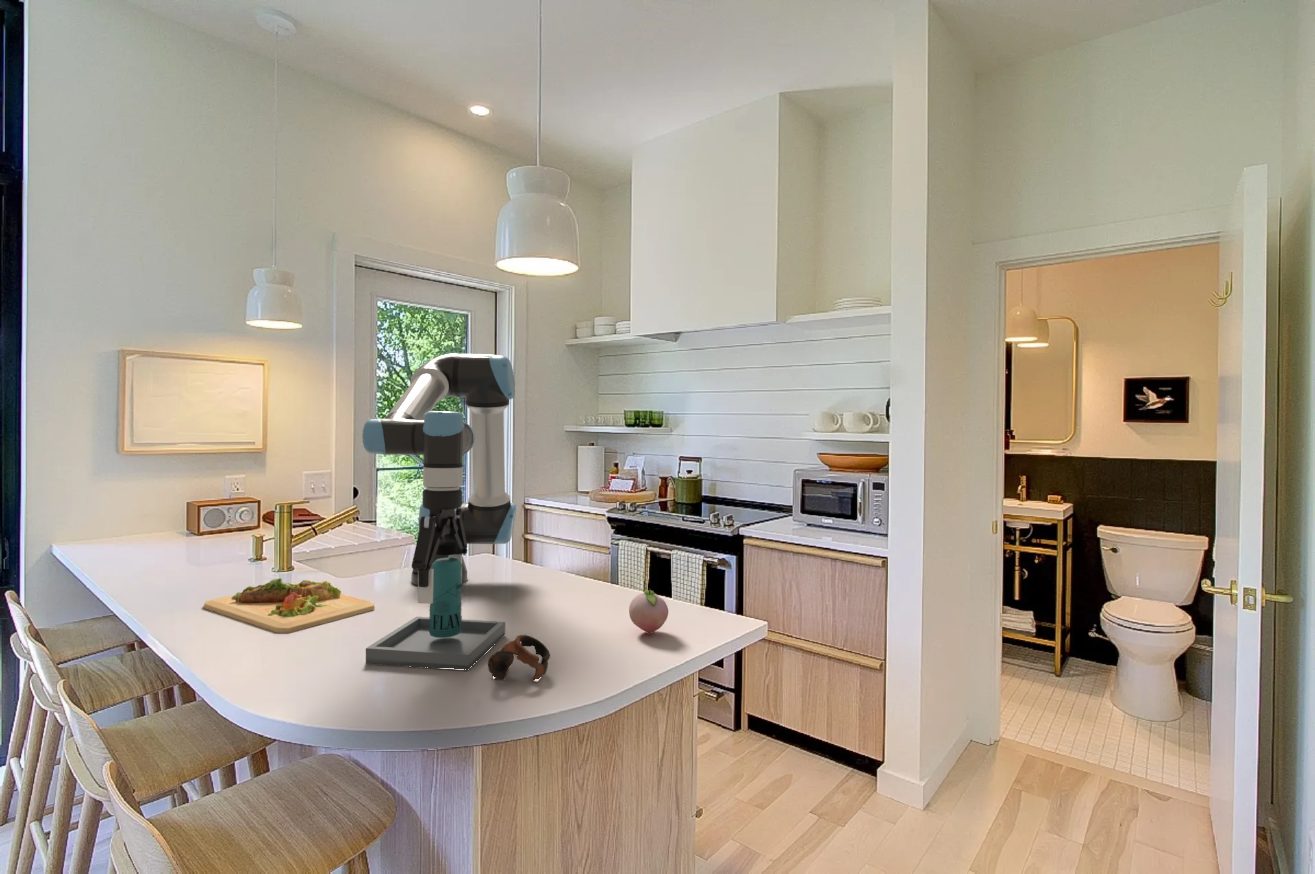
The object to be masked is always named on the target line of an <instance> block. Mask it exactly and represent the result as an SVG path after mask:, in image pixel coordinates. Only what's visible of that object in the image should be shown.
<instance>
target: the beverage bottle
mask: <svg viewBox="0 0 1315 874" xmlns="http://www.w3.org/2000/svg"><path fill="white" fill-rule="evenodd" d="M436 554H438V555H453V554H457V544H456V543H453V542H444V543H439V546H438V549H437V552H436ZM431 569H434V572H433V603H432V604H429V610H428V611H429V612H428V613H429V614H428V615H429V617H430V618H429V619H430V622H429V630H428V631H429V633H430V635H431V636H433V637H437V638H446V637H452V636H456V635H458V634H459V633H460V630H461V629H462V626H461V620H462V618H463V615H462V611H463V610H462V606H463V602H462V599H463V598H462V593H463V583H464V582H462V563H461V562H460V561H459V560H458V559H456V558H440V559H437V560H436V561H434V562H433V563H432V566H431Z"/></svg>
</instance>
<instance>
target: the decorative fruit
mask: <svg viewBox="0 0 1315 874" xmlns="http://www.w3.org/2000/svg"><path fill="white" fill-rule="evenodd" d="M648 589H649V590H648ZM648 589H645V590H644V591H642V592H643V593H640V594H638V595H635V597H633V599H631V601H630V602H629V603H630V604H629V607H628V613H629V614H628V615H629V618H630V620H631V622H632V623H633V625H635V626H636V627H638V628H639V629H640V630H642V631H644V632H646V633H647V632H648V633H650V634H652V633H654V632H657V630H659V629H660V628H661V627H663V625H664V624H665V622H666V621H667V619H668V616H669V608H668V604H667V603H666V601H665V600H664V599H663V598H661V597H660V596H659V595H658V594H656V593H655V592H654V590H651V588H648ZM651 632H652V633H651ZM648 633H647V634H648Z"/></svg>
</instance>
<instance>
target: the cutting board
mask: <svg viewBox="0 0 1315 874" xmlns="http://www.w3.org/2000/svg"><path fill="white" fill-rule="evenodd" d="M282 580H283V577H279V578H273V579H272V580H269V582H267V583H265V584H259V585H256V586H247V587H246V588H244V589H243V590H242V592H239V591H237V592H236V593H235V594H232V595H228V596H224V597H219V598H214V599H209V600H206V601H205V602H204V604H203V609H205V610H208V609H209V610H208V611H211V612H214V611H215V612H214V613H217V614H220V615H223V616H227V617H229V618H231V619H235V620H237V621H238V620H239V621H241V622H244V623H247V624H250V625H253V624H254V625H253V626H256V627H259V626H260V627H259V628H262V629H265V630H268V631H271V632H274V633H279V634H280V633H281V634H282V633H285V634H286V633H288V634H289V633H293V632H298V631H301V630H305V629H309V628H312V627H316V626H319V624H320V625H323V624H326V623H330V622H333V621H334V622H335V621H338V620H342V619H345V618H349V617H353V616H357V615H359V614H364V613H367V612H372V611H375V602H373V601H370V600H366V599H362V598H358V597H354V596H351V595H346V594H344V593H343V594H342V591H341V590H340V589H339V588H338V587H334V586H333V585H332V584H331V582H330V581H328V580H325V581H322V582H318V581H317V582H316V581H311V580H308V579H306V580H305V579H304V580H303V579H302V581H300V582H291V583H287V582H285V583H284V582H283V581H282Z"/></svg>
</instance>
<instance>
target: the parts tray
mask: <svg viewBox="0 0 1315 874" xmlns="http://www.w3.org/2000/svg"><path fill="white" fill-rule="evenodd" d="M429 618H430V616H415V617H414V618H412V619H410V620H409V621H407V622H405V623H403V624H402V625H401V626H400V627H397V628H396V629H394V630H393V631H391V632H389V633H388V634H386V635H384V636H383V637H381V638H380V639H379V640H377V641H375V642H373V643H372V644H370V645H368V646H367V647H366V648H365V665H375V666H389V667H401V666H408V667H407V668H415V667H423V668H422V669H430V668H454V669H464V670H465V669H466V670H468V669H469V668H470V667H471V666H473V664H474V663H476V661H478V660H479V659H480V658H481V657H482V656H483V655H484V654H485V653H486V652H487V651H488V650H489V649H490V648H491V647H492V646H494V644H496V643H497V642H498V641H499V640H500V639H501V638H502V637H503V636H504V635H505V636H506V621H496V620H482V619H481V620H479V619H478V620H477V619H462V620H461V626H462V629H461V630H460V633H459V634H458V635H456V636H452V637H446V638H437V637H433V636H431V635H430V633H429V631H428V630H429V622H430V619H429ZM505 636H504V637H505ZM504 637H503V638H504ZM503 638H502V639H503ZM502 639H501V640H502ZM501 640H500V641H501ZM500 641H499V642H500ZM499 642H498V643H499ZM498 643H497V644H498ZM497 644H496V645H497ZM494 647H495V646H494ZM487 653H488V652H487ZM487 653H486V654H487ZM486 654H485V655H486ZM485 655H484V656H485ZM484 656H483V657H484ZM483 657H482V658H483ZM482 658H481V659H482ZM481 659H480V660H481ZM480 660H479V661H480ZM479 661H478V662H479ZM476 664H477V663H476ZM409 666H411V667H409ZM425 667H426V668H425ZM427 667H428V668H427ZM473 667H474V666H473Z"/></svg>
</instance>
